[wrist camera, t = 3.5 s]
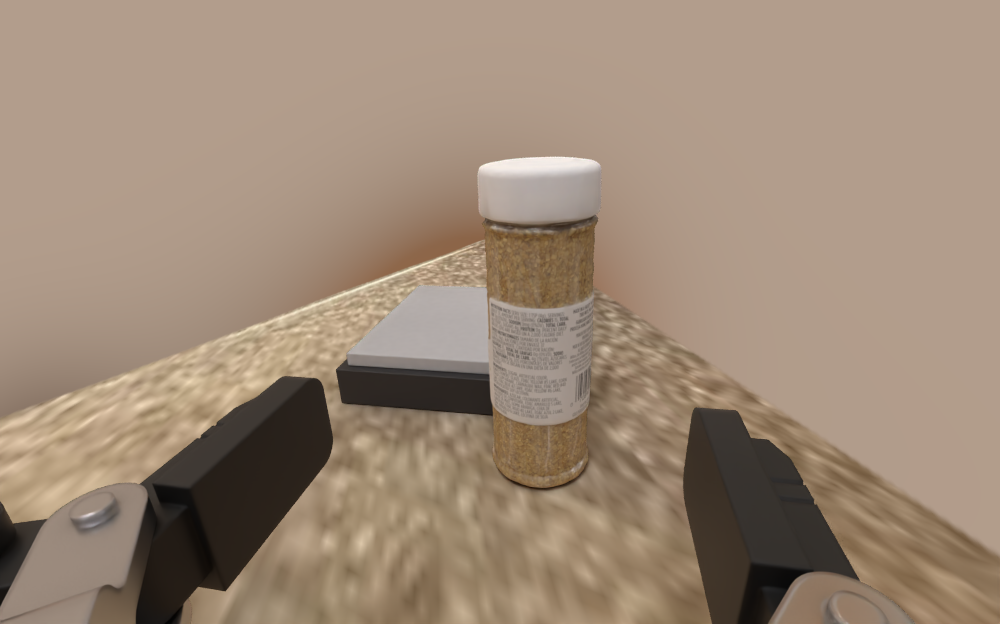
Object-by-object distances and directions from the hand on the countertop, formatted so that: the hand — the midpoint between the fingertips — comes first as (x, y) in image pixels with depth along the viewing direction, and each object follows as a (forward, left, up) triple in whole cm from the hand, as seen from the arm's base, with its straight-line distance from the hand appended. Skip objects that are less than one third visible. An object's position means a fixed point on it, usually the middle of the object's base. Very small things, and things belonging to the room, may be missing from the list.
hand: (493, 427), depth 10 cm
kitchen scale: (+5, -20, -9) cm, 22 cm away
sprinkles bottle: (0, -10, -9) cm, 13 cm away
